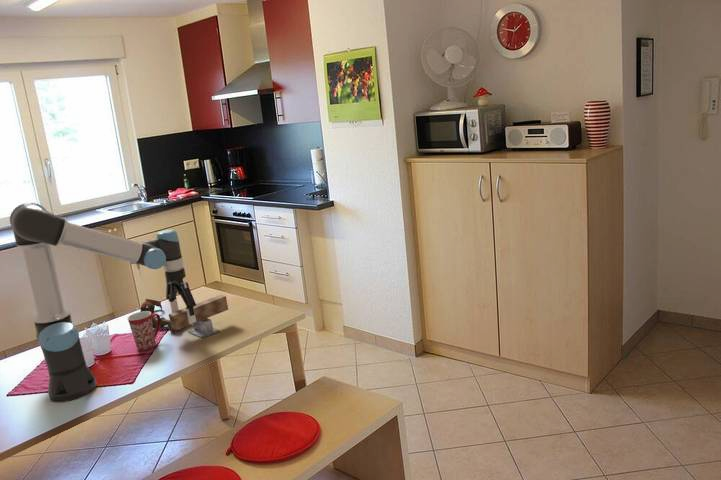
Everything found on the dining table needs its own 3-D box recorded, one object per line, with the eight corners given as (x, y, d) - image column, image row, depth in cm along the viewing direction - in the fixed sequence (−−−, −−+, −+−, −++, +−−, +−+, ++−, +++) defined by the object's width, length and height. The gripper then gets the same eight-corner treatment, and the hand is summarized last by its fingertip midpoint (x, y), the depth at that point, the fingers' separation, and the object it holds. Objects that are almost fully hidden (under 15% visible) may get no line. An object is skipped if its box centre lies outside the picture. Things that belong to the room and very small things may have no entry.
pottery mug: (137, 315, 276) (142, 297, 277) (158, 319, 280) (162, 302, 281) (139, 316, 265) (144, 297, 267) (161, 320, 269) (165, 302, 270)
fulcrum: (202, 338, 237) (199, 324, 236) (188, 332, 246) (185, 318, 244) (219, 331, 242) (217, 317, 241) (205, 325, 251) (202, 312, 249)
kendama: (162, 323, 261) (200, 324, 254) (148, 333, 252) (186, 334, 245) (159, 311, 259) (196, 311, 252) (144, 320, 251) (183, 320, 243)
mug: (141, 353, 230) (133, 321, 226) (130, 348, 236) (123, 317, 233) (170, 341, 238) (163, 310, 235) (159, 336, 245) (152, 306, 241)
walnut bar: (176, 330, 233) (173, 315, 232) (171, 328, 236) (168, 314, 234) (228, 309, 249) (225, 296, 247) (223, 307, 252) (220, 294, 250)
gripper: (151, 267, 239) (161, 316, 244) (180, 276, 221) (191, 329, 226) (168, 262, 243) (178, 310, 249) (198, 270, 226) (208, 322, 231)
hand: (184, 319), depth 237 cm, fingers open, 13 cm apart
